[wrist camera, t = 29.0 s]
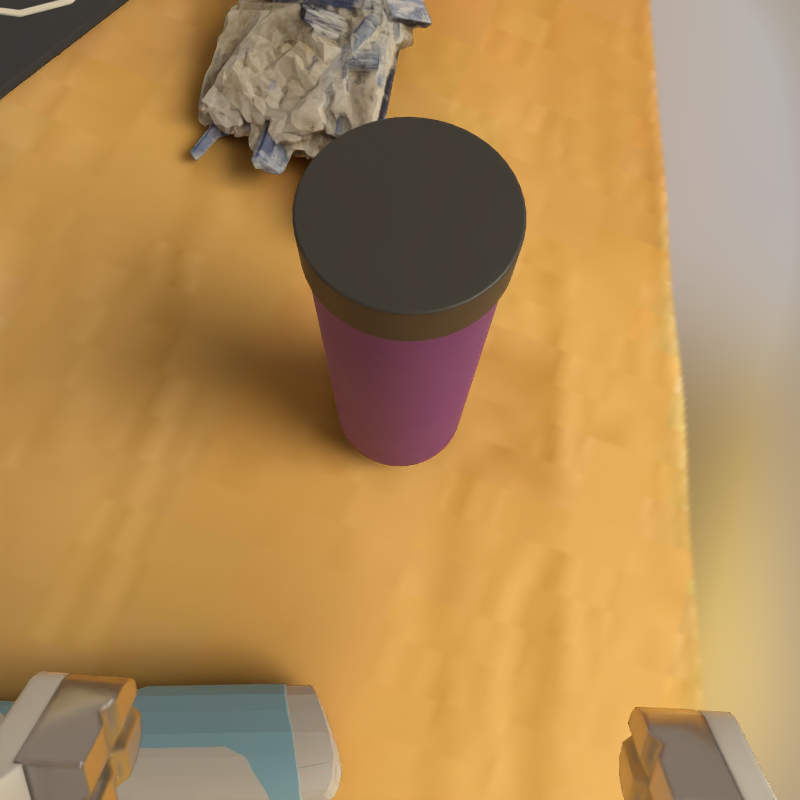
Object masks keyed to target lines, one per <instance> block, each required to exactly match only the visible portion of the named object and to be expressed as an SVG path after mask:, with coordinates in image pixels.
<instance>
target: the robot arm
mask: <svg viewBox="0 0 800 800" xmlns="http://www.w3.org/2000/svg"><path fill="white" fill-rule="evenodd" d="M137 695H138V692H137V688H136V683H135V679H131V678H122V677H111V676H99V675H88V674H76V673H60V672H47V671H39V672H38V673H37V674H36V675H34V676H33V677H32V678H31V679H30V680H29V681H28V683H27V684H26V686H25V687H24V689H23V690H22V692H21V693H20V695H19V696H18V698H17V699H16V701H15V702H14V704H13V705H12V707H11V708H10V710H9V711H8V713H7V714H6V716H5V717H4V719H3V720H2V722H1V723H0V800H118V796H117V790H116V788H117V787H118V786H119V785H120V784H121V783H123V782H124V781H125V780H126V779H127V778H129V777H130V776H131V773H132V771H133V768H134V766H135V763H136V761H137V758H138V754H139V749H140V745H141V741H142V718H141V713H140V712H139V711H138V710H137V709H136V708H134V707H133V704H134V701H135V699H136V697H137ZM628 724H629V727H630V731H631V734H632V736H630V737H629V738H628V739H626V740H625V741H624V742H623V743H622V748H621V752H620V756H619V776H620V782H621V788H622V792H623V796H624V800H777V798H776V796H775V795H774V793H773V790H772V789H771V787H770V785H769V783H768V781H767V779H766V777H765V775H764V773H763V771H762V769H761V767H760V765H759V763H758V761H757V759H756V757H755V755H754V753H753V751H752V749H751V747H750V746H749V743H748V742H747V740H746V738H745V736H744V734H743V732H742V730H741V728H740V726H739V724H738V722H737V720H736V718H735V717H734V716H733V715H732V714H731V713H730V712H718V711H701V710H698V711H695V710H691V709H669V708H647V707H635V708H634V710H633V711H632V712H631V715H630V718H629V722H628Z"/></svg>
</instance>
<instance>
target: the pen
mask: <svg viewBox="0 0 800 800" xmlns="http://www.w3.org/2000/svg"><path fill="white" fill-rule="evenodd" d="M137 692H138V695H137V697H136V699H135V701H134V704H133V707H134V708H136V709H137V710H138V711H139V712H140V713H141V718H142V741H141V745H140V749H139V754H138V758H137V761H136V763H135V766H134V768H133V771H132V773H131V776H130V777H129V778H127V779H126V780H125V781H124V782H123V783H121V784H120V785H119V786H118V787H117V788H116V790H117V796H118V800H331V799H332V798H333V797H334V796H335V794H336V792H337V791H338V788H339V784H340V779H341V773H342V768H341V763H340V758H339V753H338V748H337V745H336V742H335V739H334V737H333V734H332V731H331V728H330V725H329V722H328V720H327V717H326V715H325V712H324V710H323V707H322V705H321V703H320V701H319V699H318V696H317V694H316V692H315V690H314V689H313V687H312V686H311V685H289V686H287V685H286V684H229V685H175V686H146V687H144V688H141V689H137ZM14 702H15V701H0V723H1V722H2V720H3V719H4V717H5V716H6V714H7V713H8V711H9V710H10V708H11V707H12V705H13V704H14Z"/></svg>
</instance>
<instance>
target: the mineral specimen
mask: <svg viewBox="0 0 800 800" xmlns="http://www.w3.org/2000/svg"><path fill="white" fill-rule="evenodd" d="M224 23H225V26H224V29H223V32H222V33H221V35H220V36H219V37H218V38H217V49H216V51H215V53H214V57H213V60H212V64H211V65H210V67H209V69H208V70H207V72H206V74H205V78H204V82H203V86H202V90H201V94H200V99H199V104H198V108H199V109H200V112H199V114H198V118H199V121H200V122H201V123H202V124H203V125H204V126H207V125H209V124H210V126H209V128H208V130H207V131H206V133H205V134H204V135H203V136H202V137H201V138H200V140H199V141H198V142H197V143H196V145H195V146H194V147H193V149H192V150H191V152H190V153H191V154H192V156H193V157H194V158H195V160H196V161H197V160H198V159H199V158H200V157H201V156H202V155H203V154H204V153H205V152H206V151H207V150H208V149H209V147H210V146H211V145H212V144H213V143H214V142H215V141H216V140H217V139H218V138H220V137H222V136H228V135H229V134H234V137H243V136H249V139H248V140H249V146H250V149H251V150H252V152H254V153H253V155H252V157H251V161H252V163H253V165H254V167H255V168H256V169H262V170H263V171H265V172H268V173H272V174H278V175H280V174H281V173H282V172H283V171H284V170H285V168H286V166H287V164H288V162H289V159H290V157H291V155H292V154H293V155H294V156H295V157H306V158H307V160H308V159H309V158H314V157H315V156H316V155H317V154H318V153H319V152H320V151H321V150H322V149H323V148H324V147H325V146H326V145H327V144H329V143H330V142H331V141H333V140H334V139H335V138H337V137H338V136H340V135H341V134H343V133H345V132H347V131H349V130H351V129H353V128H355V127H358V126H361V125H363V124H366V123H369V122H373V121H377V120H381V119H386V114H387V109H388V104H389V98H390V93H391V88H392V82H393V78H394V74H395V69H396V64H397V59H398V53H399V51H400V50H401V49H404V48H406V47H409V46H411V45H412V44H413V34H412V29H414V28H417V27H422V28H427V27H428V26H430V25H431V24H432V21H431V18H430V15H429V13H428V11H427V8H426V6H425V3H424V1H423V0H239V4H237V5H235V6H233V7H232V8H231V9H230V10H229V11H228V12H227V16H226V17H225V19H224Z"/></svg>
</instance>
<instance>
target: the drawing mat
mask: <svg viewBox="0 0 800 800" xmlns="http://www.w3.org/2000/svg"><path fill="white" fill-rule="evenodd" d="M127 1H128V0H0V99H1V98H2V97H4V96H5V95H6V94H7V93H9V92H10V91H11V90H13V89H14V88H15V87H17V86H18V85H19V84H20V83H22V82H23V81H24V80H26V79H27V78H28V77H30V76H31V75H32V74H33V73H35V72H36V71H37V70H39V69H40V68H41V67H42V66H44V65H45V64H46V63H48V62H49V61H50V60H52V59H53V58H54V57H55V56H57V55H58V54H59V53H61V52H62V51H63V50H65V49H66V48H67V47H68V46H70V45H71V44H72V43H74V42H75V41H76V40H77V39H79V38H80V37H81V36H83V35H84V34H85V33H87V32H88V31H89V30H90V29H92V28H93V27H94V26H96V25H97V24H98V23H100V22H101V21H102V20H103V19H105V18H106V17H107V16H109V15H110V14H111V13H112V12H114V11H115V10H116V9H118V8H119V7H120V6H122V5H123V4H124V3H125V2H127Z"/></svg>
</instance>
